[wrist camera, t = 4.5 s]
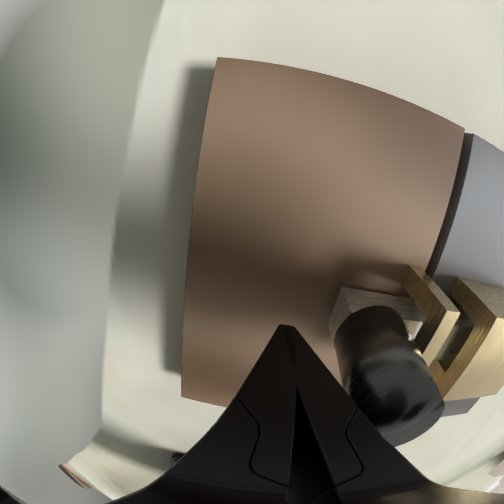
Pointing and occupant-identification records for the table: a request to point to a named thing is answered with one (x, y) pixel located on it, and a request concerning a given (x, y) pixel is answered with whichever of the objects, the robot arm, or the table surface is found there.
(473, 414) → the table surface
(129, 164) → the table surface
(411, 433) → the steel bolt
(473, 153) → the board
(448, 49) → the table surface
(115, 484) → the table surface
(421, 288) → the brass keeper
